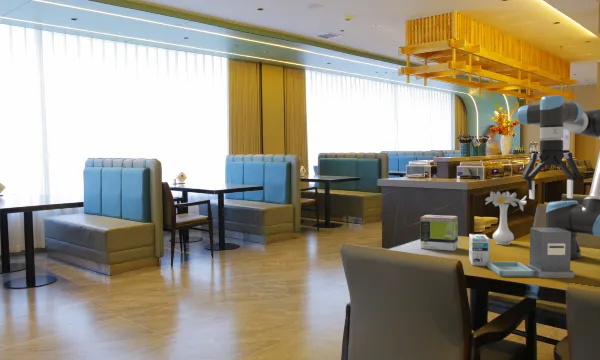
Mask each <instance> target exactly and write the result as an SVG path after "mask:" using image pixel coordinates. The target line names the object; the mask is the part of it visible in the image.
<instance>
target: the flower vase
mask: <svg viewBox="0 0 600 360" xmlns="http://www.w3.org/2000/svg"><path fill="white" fill-rule="evenodd" d="M516 197H517V193H516V192H513V193H511V192H509V191H506V192H502V193H501V191H497V192H495V191H494V192H493V191H490V194H489V196H488V197H486V198H485V201H486V202H485V205H488V204H489V203H491V202H492V205H494V207H499V224H498V227H497V229H496V230H495V231H494V232H493V233H492V239H493V240H494V241H495V244H497V245H501V246H509V245H510V244H511V242H513V240H514V239H515V238H514V233H513V232H512V231H511V230H510V229H509V226H508V210H509V209H508V208H509V206H510V205H511V206H513V207H518V205H519V209H520V210H521V211H522V212H524V206H525V205H526V204H527V200H526V198H527V195H525V196H523V197H522V199H519V198H516Z"/></svg>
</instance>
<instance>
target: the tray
mask: <svg viewBox="0 0 600 360" xmlns="http://www.w3.org/2000/svg"><path fill="white" fill-rule="evenodd" d="M486 268H488V269H489V270H490V271H492V272H493V273H495V274H496V275H497V276H498V277H500V278H501V277H511V278H512V277H514V278H515V277H520V278H521V277H523V278H524V277H527V278H530V277H532V278H533V277H534V278H535V277H536V276H535V271H534V270H532V269H530V268H528V267H527V266H526V264H523V263H522V262H519V261H490V262H487V266H486Z"/></svg>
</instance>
